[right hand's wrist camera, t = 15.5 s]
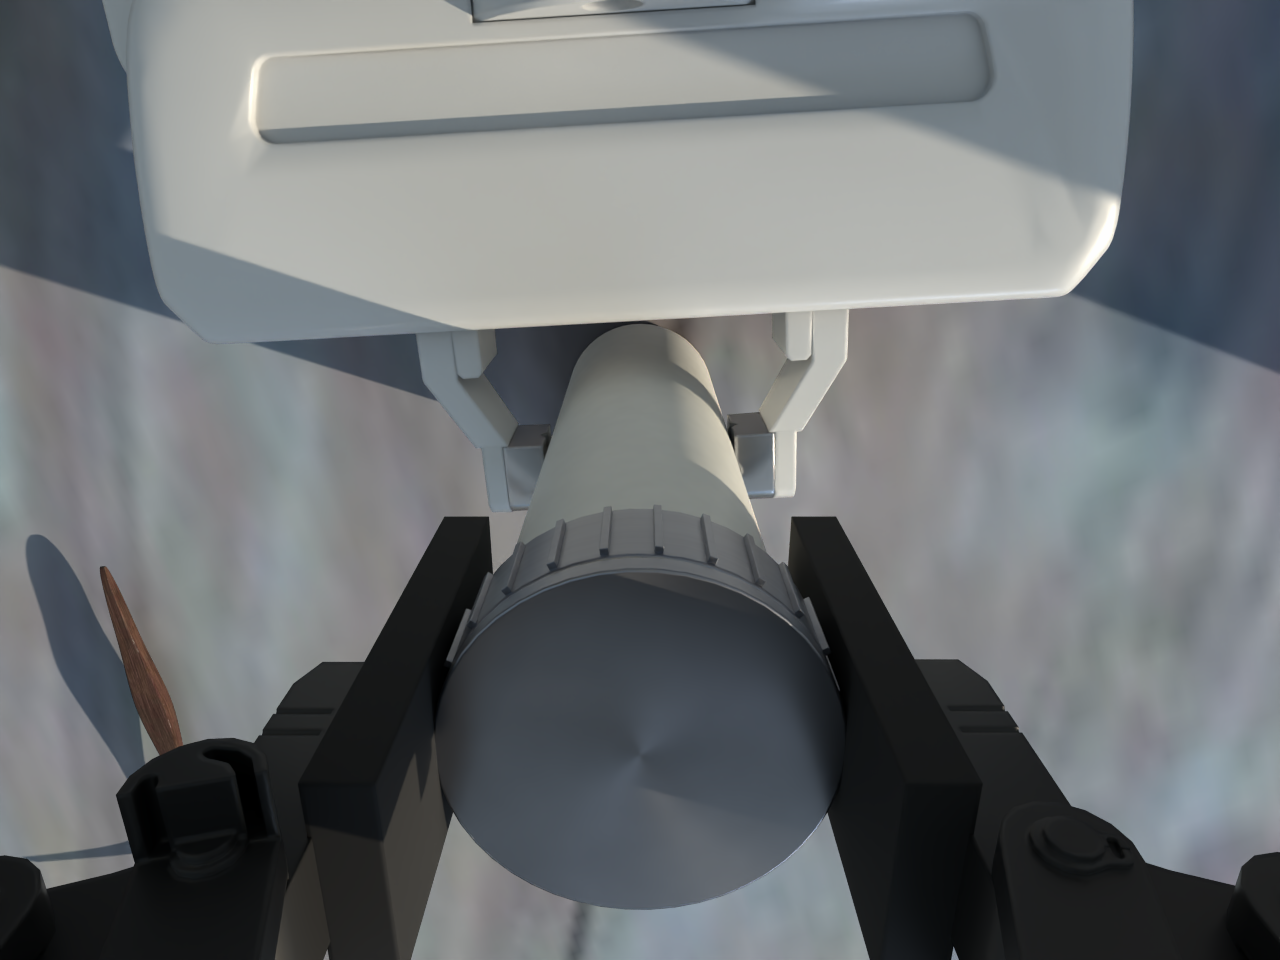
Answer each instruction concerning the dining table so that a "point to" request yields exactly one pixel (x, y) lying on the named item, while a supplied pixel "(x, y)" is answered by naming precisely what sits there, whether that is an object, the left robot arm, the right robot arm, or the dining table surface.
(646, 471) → the off-white tall cylinder
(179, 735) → the fork
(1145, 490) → the dining table surface
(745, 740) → the lid
